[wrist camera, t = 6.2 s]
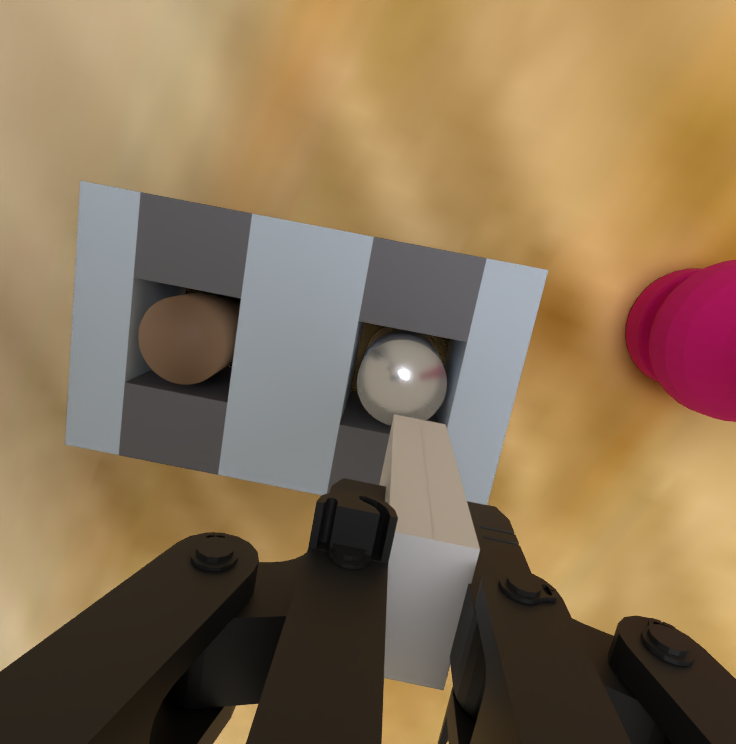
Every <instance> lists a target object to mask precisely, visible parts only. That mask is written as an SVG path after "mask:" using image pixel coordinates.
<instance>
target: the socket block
mask: <svg viewBox="0 0 736 744" xmlns="http://www.w3.org/2000/svg"><path fill="white" fill-rule="evenodd" d="M547 273H548V270H545V269H539V268H534V267H529V266H524V265H518V264H513V263H508V262H503V261H498V260H492V259H487V258H482V257H477V256H471V255H466V254H461V253H456V252H450V251H445V250H440V249H435V248H430V247H424V246H419V245H414V244H409V243H403V242H398V241H393V240H388V239H383V238H377V237H372V236H367V235H362V234H356V233H351V232H346V231H341V230H335V229H330V228H325V227H320V226H315V225H309V224H304V223H299V222H294V221H288V220H283V219H278V218H273V217H267V216H262V215H257V214H252V213H247V212H241V211H236V210H231V209H226V208H220V207H215V206H210V205H205V204H200V203H194V202H189V201H184V200H179V199H173V198H168V197H163V196H158V195H152V194H147V193H142V192H137V191H132V190H126V189H121V188H116V187H111V186H105V185H100V184H95V183H90V182H84V181H80V196H79V213H78V230H77V247H76V264H75V282H74V299H73V316H72V333H71V350H70V367H69V385H68V402H67V419H66V436H65V445H70V446H75V447H80V448H85V449H90V450H96V451H101V452H106V453H111V454H116V455H121V456H126V457H131V458H136V459H141V460H146V461H151V462H156V463H161V464H166V465H171V466H176V467H181V468H186V469H191V470H196V471H202V472H207V473H212V474H217V475H222V476H227V477H232V478H237V479H242V480H247V481H252V482H257V483H262V484H267V485H272V486H277V487H282V488H287V489H292V490H297V491H303V492H308V493H313V494H318V495H324V494H327V493H329V492H330V489H331V486H332V485H333V484H335V483H336V482H338V481H340V480H341V479H343V478H346V479H351V480H356V481H361V482H366V483H371V484H376V485H379V484H380V479H381V474H382V469H383V465H384V460H385V455H386V450H387V445H388V440H389V436H390V431H391V426H390V425H387V424H384V423H382V422H380V421H378V420H377V419H375V418H374V417H373V416H371V415H370V414H369V413H368V412H367V410H366V409H365V408H364V406H363V404H362V403H361V400H360V398H359V395H358V393H357V392H352V391H351V388H352V383H353V377H354V372H355V366H356V361H357V356H358V350H359V345H360V340H361V334H362V329H363V323H364V322H366V323H371V324H376V325H381V326H386V327H392V328H397V329H402V330H407V331H412V332H417V333H423V334H428V335H433V336H438V337H443V338H448V339H449V344H448V348H447V353H446V357H445V362H444V366H443V367H444V369H445V372H446V377H447V389H446V394H445V398H444V400H443V402H442V404H441V406H440V407H439V409H438V410H437V411H436V412H435V413H434V414H433V415H432V416H431V417H430V418H429V419H427V420H426V421H431V422H436V423H441V424H446V427H447V431H448V434H449V438H450V442H451V445H452V449H453V453H454V456H455V460H456V463H457V467H458V471H459V474H460V478H461V482H462V485H463V489H464V493H465V496H466V500H467V501H469V502H474V503H479V504H484V505H487V503H488V500H489V496H490V492H491V488H492V484H493V480H494V476H495V473H496V469H497V465H498V461H499V457H500V453H501V450H502V446H503V442H504V438H505V434H506V430H507V427H508V423H509V419H510V415H511V411H512V407H513V403H514V400H515V396H516V392H517V388H518V384H519V380H520V377H521V373H522V369H523V365H524V361H525V357H526V354H527V350H528V346H529V342H530V338H531V334H532V330H533V327H534V323H535V319H536V315H537V311H538V307H539V304H540V300H541V296H542V292H543V288H544V284H545V281H546V277H547ZM186 288H190V289H195V290H200V291H205V292H211V293H216V294H221V295H226V296H231V297H236V298H241V303H240V311H239V318H238V326H237V333H236V341H235V349H234V356H233V364H232V368H229V367H225V368H223V369H222V370H220V371H219V372H217V373H215V374H214V375H212V376H211V377H209V378H208V379H206V380H204V381H202V382H199V383H195V384H189V385H183V384H176V383H173V382H170V381H167V380H165V379H163V378H162V377H160V376H159V375H157V374H156V373H155V372H154V371H153V370H152V369H151V368H150V367H149V366H148V364H147V363H146V361H145V360H144V358H143V356H142V353H141V351H140V347H139V340H138V332H139V326H140V323H141V320H142V318H143V316H144V315H145V313H146V312H147V310H148V309H149V308H150V307H151V306H152V305H153V304H155V303H156V302H158V301H160V300H162V299H164V298H168V297H172V296H178V295H184V294H185V292H186Z"/></svg>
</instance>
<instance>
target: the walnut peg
mask: <svg viewBox="0 0 736 744" xmlns="http://www.w3.org/2000/svg"><path fill="white" fill-rule="evenodd" d="M240 303H241V298H236V297H231V296H226V295H221V294H216V293H211V292H205V291H200V292H195V293H189V294H184V295H178V296H172V297H168V298H164V299H162V300H160V301H158V302H156V303H155V304H153V305H152V306H151V307H150V308H149V309H148V310H147V312H146V313H145V315H144V316H143V318H142V320H141V323H140V326H139V332H138V340H139V347H140V351H141V353H142V356H143V358H144V360H145V361H146V363H147V364H148V366H149V367H150V368H151V369H152V370H153V371H154V372H155V373H156V374H157V375H159V376H160V377H162V378H163V379H165V380H167V381H170V382H173V383H176V384H183V385H189V384H195V383H199V382H202V381H204V380H206V379H208V378H209V377H211V376H212V375H214V374H215V373H217V372H219V371H220V370H222V369H223V368H225V367H226V366H228V365H229V364H231V363H233V356H234V349H235V341H236V333H237V326H238V318H239V311H240Z"/></svg>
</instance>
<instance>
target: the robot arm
mask: <svg viewBox="0 0 736 744" xmlns="http://www.w3.org/2000/svg"><path fill="white" fill-rule="evenodd" d="M450 664H451V672H452V680H453V687H452V691H451V695H450V699H449V702H448V706H447V710H446V714H445V718H444V721H443V725H442V729H441V733H440V736H439V740H438V744H446V743H447V742H448V741H449V744H736V679H735V678H734V677H733V676H732V675H731V674H730V673H729V672H728V671H727V670H726V669H725V668H724V667H723V666H722V665H720V664H719V663H718V662H717V661H716V660H715V659H714V658H713V657H712V656H711V655H710V654H709V653H708V652H707V651H706V650H705V649H704V648H703V647H701V646H700V645H699V644H698V643H696V642H695V641H694V640H693V639H691V638H690V637H689V636H687V635H686V634H684V633H682V632H680V631H679V630H677V629H676V628H675V627H674V626H672V625H670V624H667V623H665V622H663V623H662V622H661V621H660V620H657V619H653V618H646V617H641V616H630V617H624V618H623V619H622V620H621V621H620V622H619V623H618V626H617V629H616V632H615V634H614V636H612V635H610V634H607V633H605V632H602V631H600V630H597V629H595V628H593V627H590V626H588V625H585V624H583V623H581V622H579V621H576V620H574V619H572V618H571V616H570V613H569V611H568V609H567V607H566V605H565V603H564V601H563V599H562V597H561V596H560V595H559V593H558V592H557V591H556V589H555V588H554V587H552V586H551V585H550V584H548V583H547V582H546V581H545V580H543V579H542V578H540V577H538V576H536V575H534V574H532V573H531V571H530V569H529V566H528V564H527V562H526V559H525V557H524V554H523V552H522V550H521V547H520V546H519V542H518V540H517V538H516V535H514V530H513V528H512V526H511V523H510V521H509V519H508V518H507V517H506V516H505V515H504V514H502V513H501V512H500V511H499V510H498V509H497V508H496V507H494V506H489V505H484V504H479V503H474V502H469V501H467V500H466V496H465V493H464V489H463V485H462V482H461V478H460V474H459V471H458V467H457V463H456V460H455V456H454V453H453V449H452V445H451V442H450V438H449V434H448V431H447V427H446V424H441V423H436V422H431V421H426V420H421V419H416V418H411V417H405V416H400V415H395V414H394V416H393V421H392V426H391V431H390V436H389V440H388V445H387V450H386V455H385V460H384V465H383V469H382V474H381V479H380V484H379V485H376V484H371V483H366V482H361V481H356V480H351V479H346V478H343V479H341V480H340V481H338V482H336V483H335V484H333V485H332V486H331V489H330V492H329V493H327V494H324V495H322V496H321V497H320V498H319V500H318V501H317V503H316V508H315V514H314V519H313V525H312V531H311V536H310V542H309V547H308V551H307V553H305V554H304V555H302V556H300V557H298V558H296V559H292V560H288V561H283V562H259V560H258V553H257V551H256V550H255V548H254V547H253V546H252V545H251V544H250V543H249V542H247V541H245V540H243V539H241V538H239V537H237V536H233V535H228V534H225V533H215V532H213V533H203V534H198V535H193V536H189V537H187V538H185V539H183V540H181V541H179V542H177V543H176V544H175V545H173V546H172V547H170V548H169V549H168V550H166V551H165V552H164V553H162V554H161V555H159V556H158V557H157V558H155V559H154V560H153V561H151V562H150V563H148V564H147V565H146V566H144V567H143V568H142V569H140V570H139V571H138V572H136V573H135V574H133V575H132V576H131V577H129V578H128V579H127V580H125V581H124V582H122V583H121V584H120V585H118V586H117V587H116V588H114V589H113V590H111V591H110V592H109V593H107V594H106V595H105V596H103V597H102V598H101V599H99V600H98V601H96V602H95V603H94V604H92V605H91V606H90V607H88V608H87V609H85V610H84V611H83V612H81V613H80V614H79V615H77V616H76V617H75V618H73V619H72V620H70V621H69V622H68V623H66V624H65V625H64V626H62V627H61V628H59V629H58V630H57V631H55V632H54V633H53V634H51V635H50V636H48V637H47V638H46V639H44V640H43V641H42V642H40V643H39V644H38V645H36V646H35V647H33V648H32V649H31V650H29V651H28V652H27V653H25V654H24V655H22V656H21V657H20V658H18V659H17V660H16V661H14V662H13V663H11V664H10V665H9V666H7V667H6V668H5V669H3V670H2V671H1V672H0V744H213V743H214V741H215V740H216V739H217V737H218V736H219V734H220V733H221V731H222V730H223V728H224V727H225V725H226V724H227V723H228V721H229V720H230V718H231V716H232V713H233V711H234V709H235V706H236V705H247V704H258V707H257V711H256V714H255V717H254V720H253V723H252V726H251V729H250V733H249V736H248V739H247V742H246V744H381V739H382V713H383V686H384V678H387V679H392V680H397V681H402V682H406V683H411V684H416V685H421V686H426V687H430V688H435V689H440V690H444V686H445V683H446V679H447V675H448V671H449V667H450Z"/></svg>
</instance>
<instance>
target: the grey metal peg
mask: <svg viewBox="0 0 736 744" xmlns="http://www.w3.org/2000/svg"><path fill="white" fill-rule="evenodd" d="M446 389H447V377H446V372H445V369H444V367H443V364H442V362H441V359H440V357H439V355H438V352H437V350H436V347H435V345H434V343H433V341H432V339H431V338H430V337H429V335H428V334H423V333H417V332H412V331H407V330H402V329H397V328H392V327H384V328H382V329H380V330H379V331H378V332H376V333H375V334H374V335H373V337H372V338H371V339H370V341H369V343H368V345H367V348H366V351H365V354H364V357H363V360H362V362H361V365H360V368H359V372H358V376H357V391H358V395H359V398H360V400H361V403H362V404H363V406H364V408H365V409H366V410H367V412H368V413H369V414H370V415H371V416H373V417H374V418H375V419H377V420H378V421H380V422H382V423H384V424H387V425H390V426H392V421H393V416H394V414H395V415H400V416H405V417H411V418H416V419H421V420H427V419H429V418H430V417H431V416H432V415H433V414H434V413H435V412H436V411H437V410H438V409H439V407H440V406H441V404H442V402H443V400H444V398H445V394H446Z"/></svg>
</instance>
